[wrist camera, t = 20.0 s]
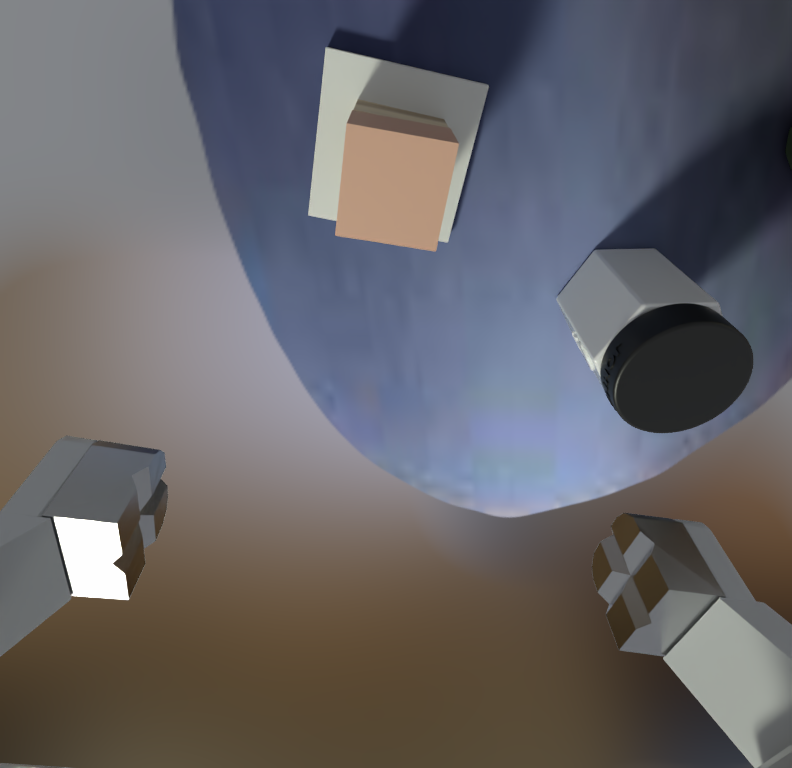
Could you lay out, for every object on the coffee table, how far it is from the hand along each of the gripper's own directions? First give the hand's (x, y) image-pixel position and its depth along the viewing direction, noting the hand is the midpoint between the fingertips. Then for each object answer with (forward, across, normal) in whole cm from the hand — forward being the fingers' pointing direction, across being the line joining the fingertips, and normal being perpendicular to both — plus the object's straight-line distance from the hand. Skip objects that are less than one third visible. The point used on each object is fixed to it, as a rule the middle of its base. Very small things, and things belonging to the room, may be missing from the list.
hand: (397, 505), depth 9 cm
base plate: (+31, 0, 0) cm, 31 cm away
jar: (+31, -19, +7) cm, 37 cm away
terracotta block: (+26, 0, 0) cm, 26 cm away
